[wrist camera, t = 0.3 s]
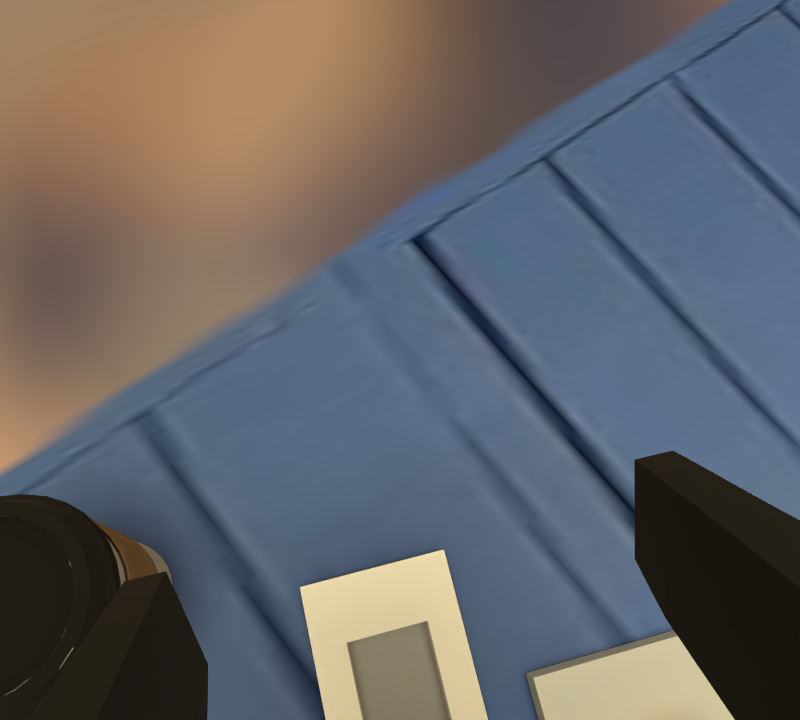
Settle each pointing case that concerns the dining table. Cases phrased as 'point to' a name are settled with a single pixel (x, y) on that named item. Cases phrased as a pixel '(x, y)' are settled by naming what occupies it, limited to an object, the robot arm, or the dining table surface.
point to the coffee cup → (54, 591)
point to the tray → (628, 685)
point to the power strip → (392, 644)
